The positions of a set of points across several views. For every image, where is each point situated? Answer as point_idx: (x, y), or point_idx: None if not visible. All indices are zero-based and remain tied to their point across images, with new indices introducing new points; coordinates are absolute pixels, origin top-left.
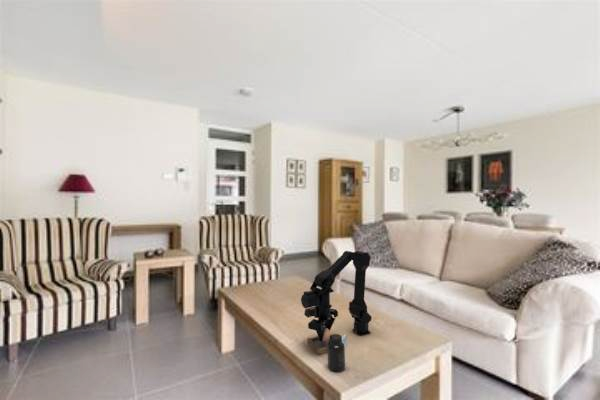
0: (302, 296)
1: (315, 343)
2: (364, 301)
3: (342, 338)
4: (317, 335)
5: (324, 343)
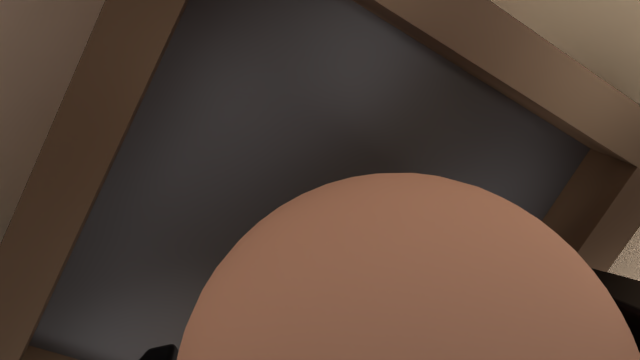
0: None
1: (251, 76)
2: None
3: None
4: (237, 256)
5: None
